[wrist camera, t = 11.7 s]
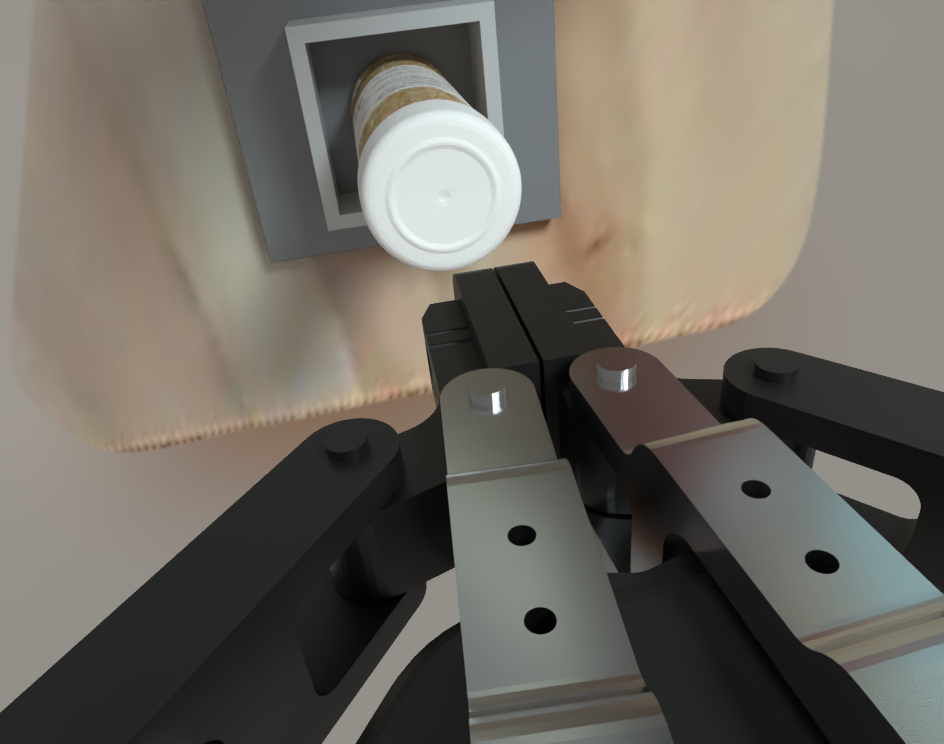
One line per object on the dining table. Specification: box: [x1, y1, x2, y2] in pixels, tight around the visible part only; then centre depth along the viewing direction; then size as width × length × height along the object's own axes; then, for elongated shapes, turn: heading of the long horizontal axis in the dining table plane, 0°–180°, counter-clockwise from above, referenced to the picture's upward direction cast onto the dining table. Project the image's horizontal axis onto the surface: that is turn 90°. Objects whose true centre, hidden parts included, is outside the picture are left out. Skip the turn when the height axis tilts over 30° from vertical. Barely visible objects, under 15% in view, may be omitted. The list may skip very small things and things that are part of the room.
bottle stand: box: [202, 0, 561, 263], centre depth 30 cm, size 12×14×4 cm
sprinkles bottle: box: [350, 53, 522, 271], centre depth 25 cm, size 5×5×13 cm
